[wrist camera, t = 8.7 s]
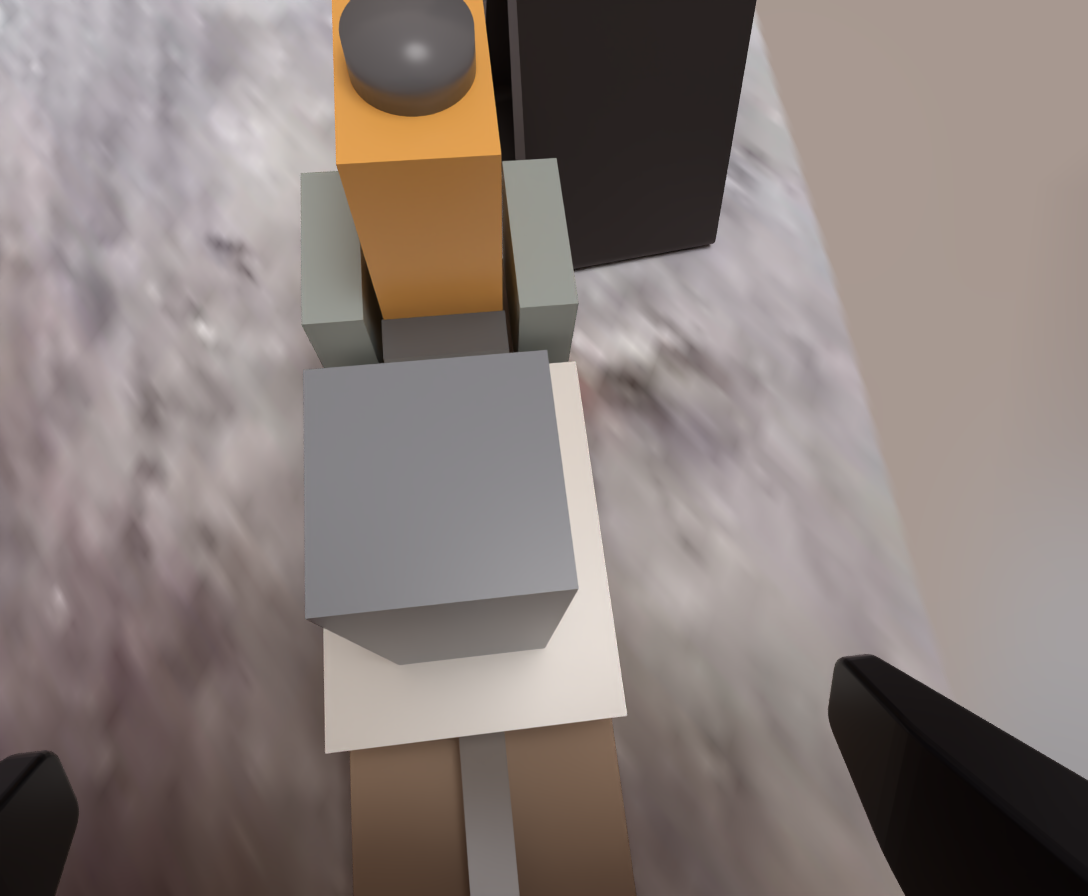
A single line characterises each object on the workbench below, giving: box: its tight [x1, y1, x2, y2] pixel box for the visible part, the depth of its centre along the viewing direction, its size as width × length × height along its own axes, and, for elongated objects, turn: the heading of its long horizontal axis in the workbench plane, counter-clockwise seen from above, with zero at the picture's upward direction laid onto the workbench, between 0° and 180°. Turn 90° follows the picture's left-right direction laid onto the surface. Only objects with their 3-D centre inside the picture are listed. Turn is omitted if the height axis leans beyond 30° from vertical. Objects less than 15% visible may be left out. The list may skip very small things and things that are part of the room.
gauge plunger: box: [332, 0, 503, 320], centre depth 16 cm, size 4×3×9 cm
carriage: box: [303, 310, 627, 754], centre depth 13 cm, size 9×6×9 cm, turn 6°
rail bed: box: [350, 259, 636, 896], centre depth 18 cm, size 21×6×2 cm, turn 6°
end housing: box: [301, 158, 578, 368], centre depth 19 cm, size 4×6×4 cm, turn 96°
